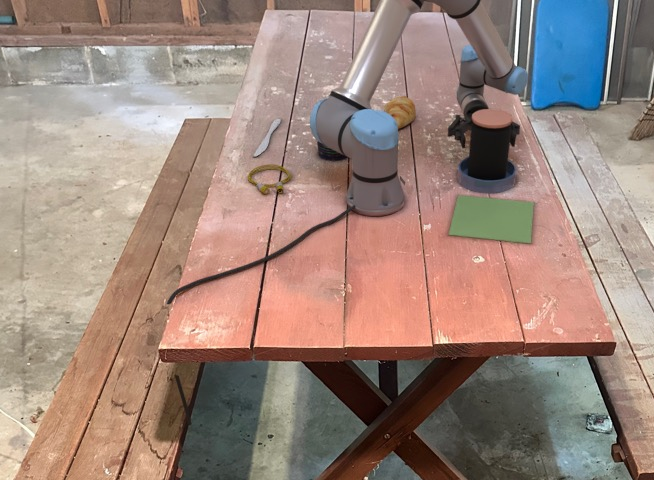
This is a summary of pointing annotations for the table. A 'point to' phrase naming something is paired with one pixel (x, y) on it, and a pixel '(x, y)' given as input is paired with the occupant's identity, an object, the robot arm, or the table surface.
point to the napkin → (492, 219)
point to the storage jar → (329, 153)
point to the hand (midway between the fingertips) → (489, 142)
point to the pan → (486, 185)
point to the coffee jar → (489, 144)
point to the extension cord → (264, 188)
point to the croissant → (401, 110)
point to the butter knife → (267, 137)
